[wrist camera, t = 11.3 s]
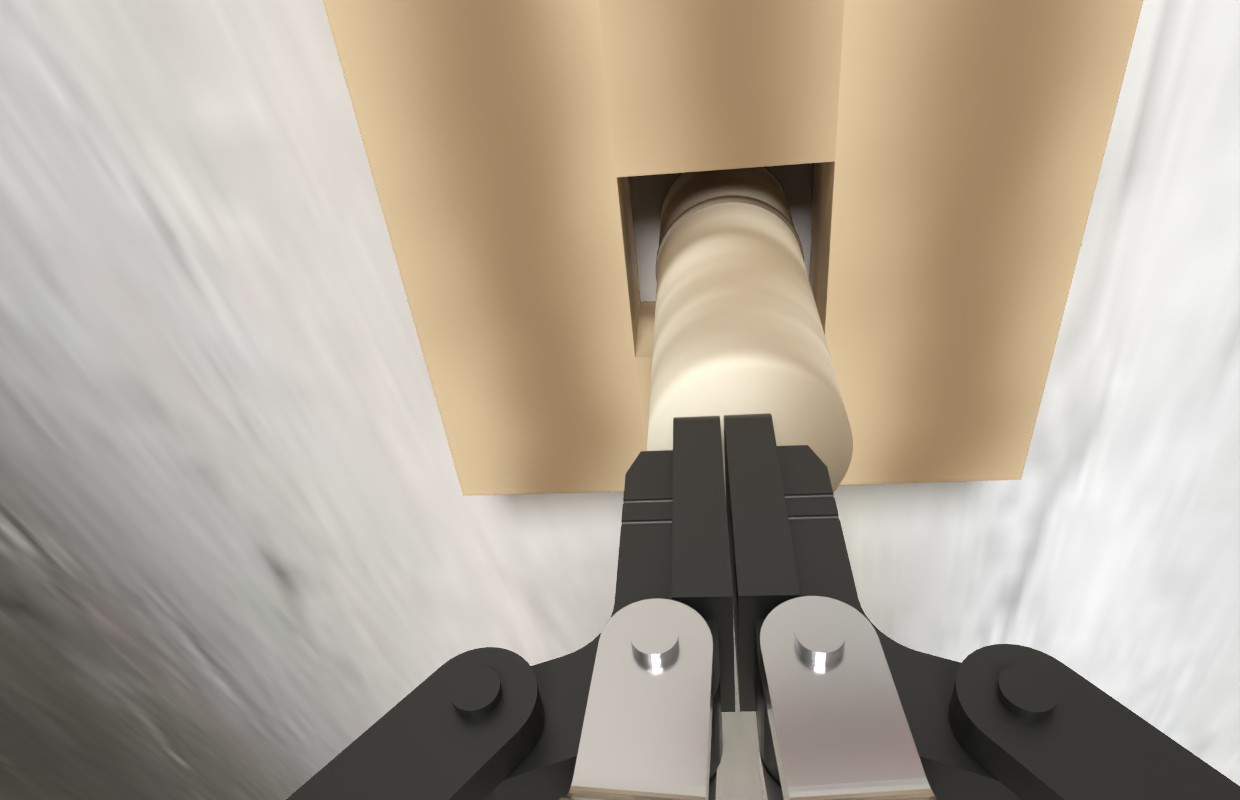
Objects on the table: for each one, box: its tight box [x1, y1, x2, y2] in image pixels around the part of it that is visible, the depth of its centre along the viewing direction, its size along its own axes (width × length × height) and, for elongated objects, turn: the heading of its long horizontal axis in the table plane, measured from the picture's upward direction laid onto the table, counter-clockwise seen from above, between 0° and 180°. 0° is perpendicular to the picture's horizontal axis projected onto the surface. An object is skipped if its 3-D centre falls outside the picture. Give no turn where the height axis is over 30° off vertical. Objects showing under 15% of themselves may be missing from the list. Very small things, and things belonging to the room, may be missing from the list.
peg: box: [647, 167, 853, 496], centre depth 17 cm, size 4×4×10 cm
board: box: [323, 0, 1143, 496], centre depth 20 cm, size 16×14×3 cm
